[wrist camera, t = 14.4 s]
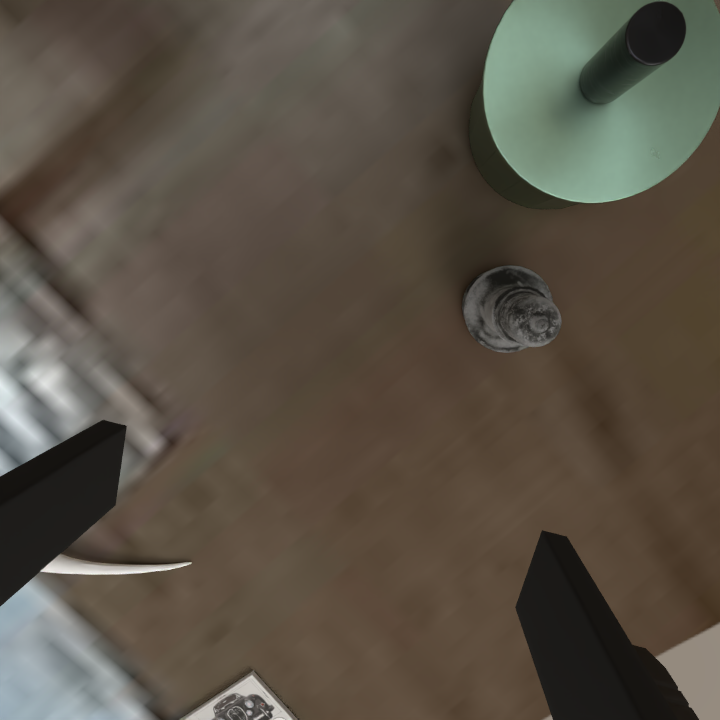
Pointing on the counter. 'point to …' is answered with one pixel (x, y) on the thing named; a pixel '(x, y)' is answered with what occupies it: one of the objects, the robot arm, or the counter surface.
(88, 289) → the counter surface
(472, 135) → the pot
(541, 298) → the dark grey tall piece
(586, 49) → the pot lid
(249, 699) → the car cutout
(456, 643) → the counter surface
